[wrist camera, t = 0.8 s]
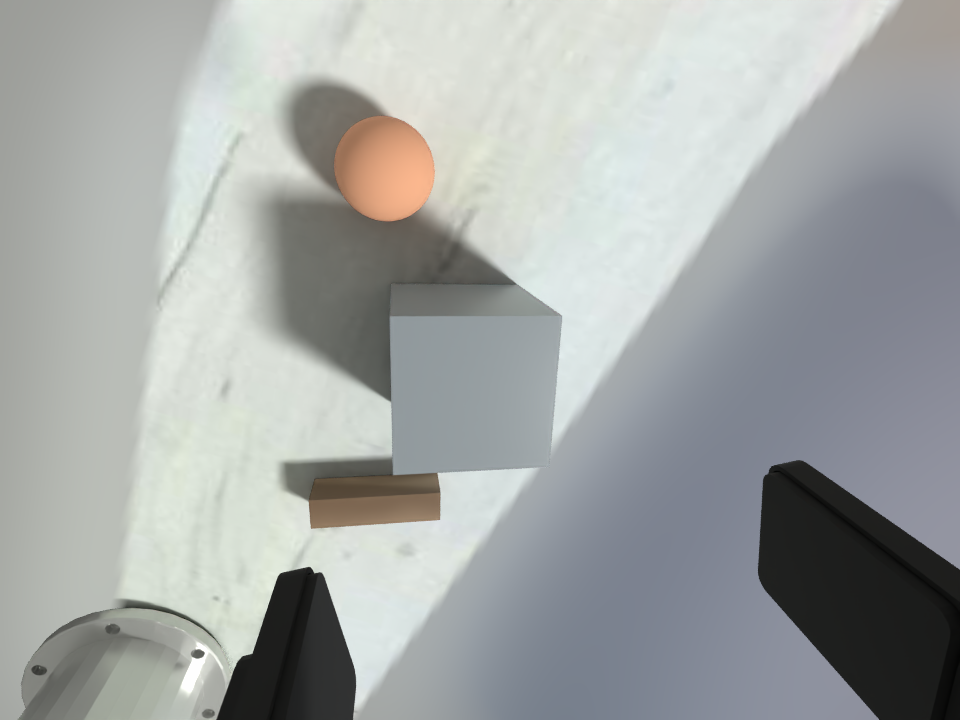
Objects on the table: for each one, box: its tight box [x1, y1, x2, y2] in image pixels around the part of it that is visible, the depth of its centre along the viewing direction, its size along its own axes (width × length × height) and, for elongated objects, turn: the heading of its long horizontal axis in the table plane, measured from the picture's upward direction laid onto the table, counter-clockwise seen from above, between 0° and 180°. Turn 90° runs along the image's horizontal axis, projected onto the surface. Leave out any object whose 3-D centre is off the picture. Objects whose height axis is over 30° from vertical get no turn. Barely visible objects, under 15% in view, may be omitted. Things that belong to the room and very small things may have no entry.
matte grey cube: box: [390, 283, 562, 475], centre depth 27 cm, size 8×8×9 cm
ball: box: [334, 116, 435, 221], centre depth 25 cm, size 5×5×5 cm
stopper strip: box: [309, 473, 440, 529], centre depth 33 cm, size 2×8×2 cm, turn 88°
